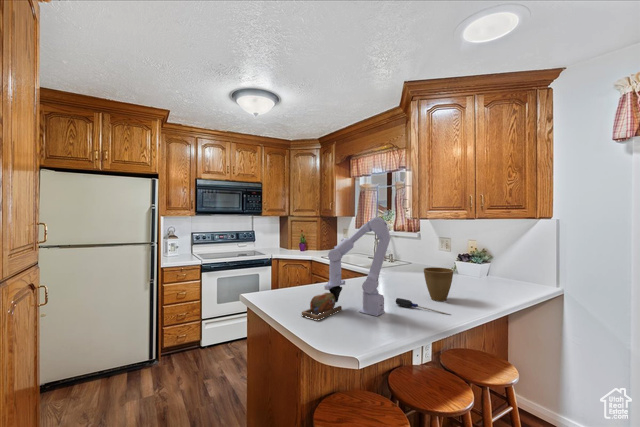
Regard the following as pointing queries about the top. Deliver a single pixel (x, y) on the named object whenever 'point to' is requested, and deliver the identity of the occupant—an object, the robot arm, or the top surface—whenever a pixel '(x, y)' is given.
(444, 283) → the plant pot
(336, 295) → the robot arm
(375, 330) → the top surface
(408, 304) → the screwdriver
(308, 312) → the brown beaded frame
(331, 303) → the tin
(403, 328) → the top surface
